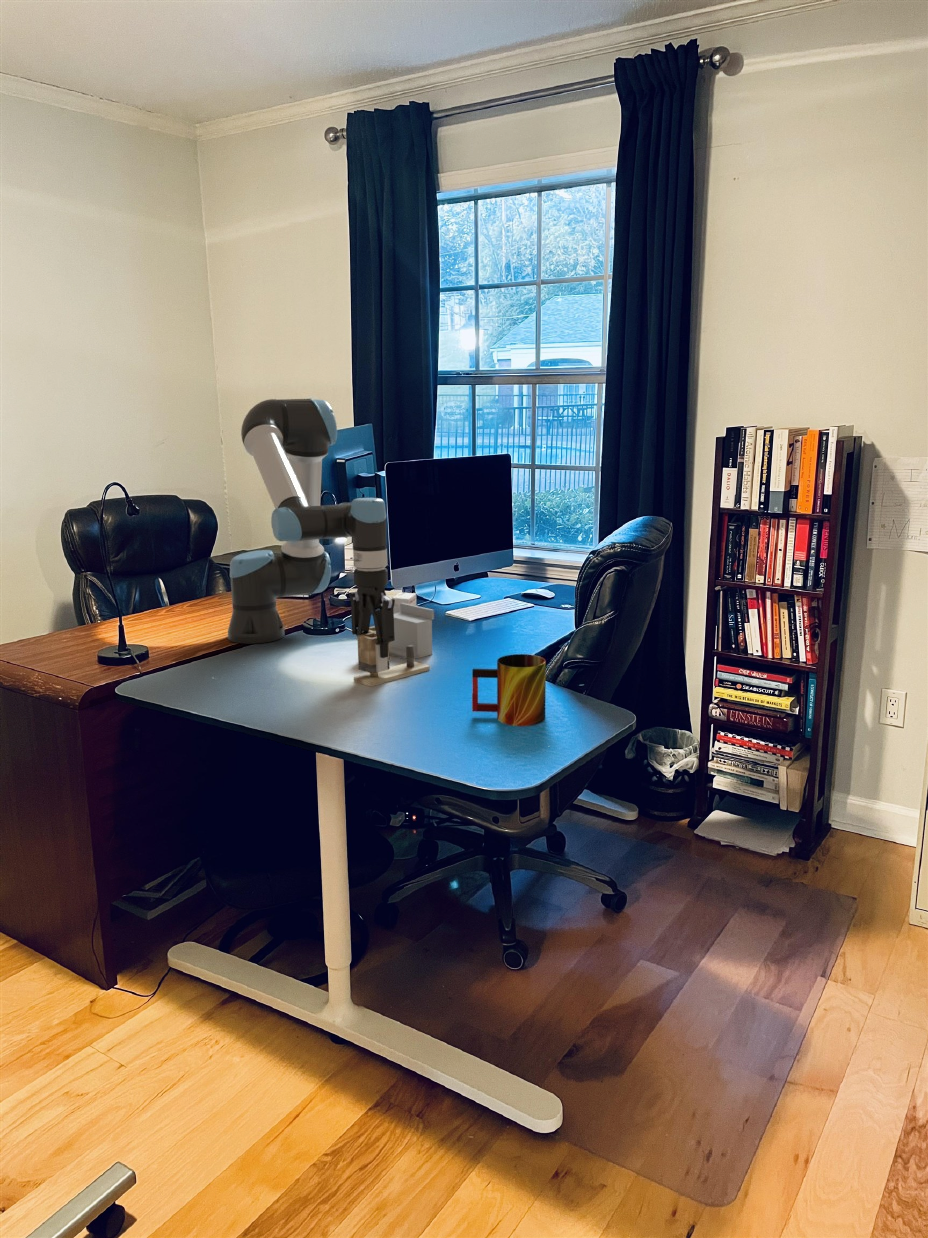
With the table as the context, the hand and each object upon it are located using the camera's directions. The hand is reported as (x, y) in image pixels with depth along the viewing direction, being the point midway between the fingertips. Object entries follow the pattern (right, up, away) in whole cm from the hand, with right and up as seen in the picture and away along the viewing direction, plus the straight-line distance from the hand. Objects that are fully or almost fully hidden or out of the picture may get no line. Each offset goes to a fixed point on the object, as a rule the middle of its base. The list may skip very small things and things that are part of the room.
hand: (374, 668), depth 205 cm
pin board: (+4, -2, +4) cm, 6 cm away
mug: (+30, -9, -26) cm, 41 cm away
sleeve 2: (0, 0, 0) cm, 0 cm away
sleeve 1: (-1, +1, +17) cm, 17 cm away
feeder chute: (+6, +3, +24) cm, 25 cm away
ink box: (+5, +6, +39) cm, 40 cm away
